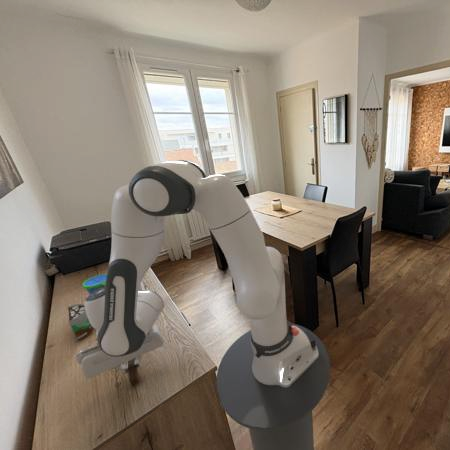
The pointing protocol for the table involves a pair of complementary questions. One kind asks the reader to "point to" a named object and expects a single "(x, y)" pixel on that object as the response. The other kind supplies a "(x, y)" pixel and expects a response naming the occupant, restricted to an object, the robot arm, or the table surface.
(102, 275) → the snack cup
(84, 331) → the food container
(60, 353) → the table surface
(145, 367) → the table surface
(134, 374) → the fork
